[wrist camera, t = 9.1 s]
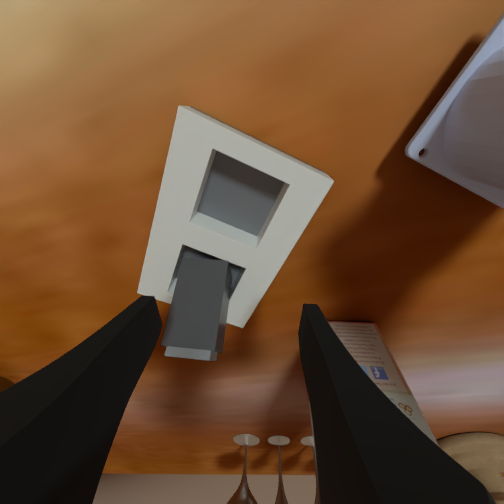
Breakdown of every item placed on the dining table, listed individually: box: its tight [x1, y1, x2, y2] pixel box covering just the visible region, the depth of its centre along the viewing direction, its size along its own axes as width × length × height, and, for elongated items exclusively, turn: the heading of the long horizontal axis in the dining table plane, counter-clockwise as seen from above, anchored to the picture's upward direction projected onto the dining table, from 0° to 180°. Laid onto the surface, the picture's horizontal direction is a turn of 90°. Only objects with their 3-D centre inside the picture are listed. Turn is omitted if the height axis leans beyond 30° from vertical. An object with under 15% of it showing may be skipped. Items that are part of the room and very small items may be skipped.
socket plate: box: [137, 106, 334, 328], centre depth 18 cm, size 10×15×2 cm, turn 156°
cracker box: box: [307, 321, 439, 462], centre depth 18 cm, size 14×6×21 cm, turn 0°
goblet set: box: [227, 434, 320, 504], centre depth 33 cm, size 28×6×13 cm, turn 96°
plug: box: [161, 257, 233, 361], centre depth 18 cm, size 4×4×7 cm
